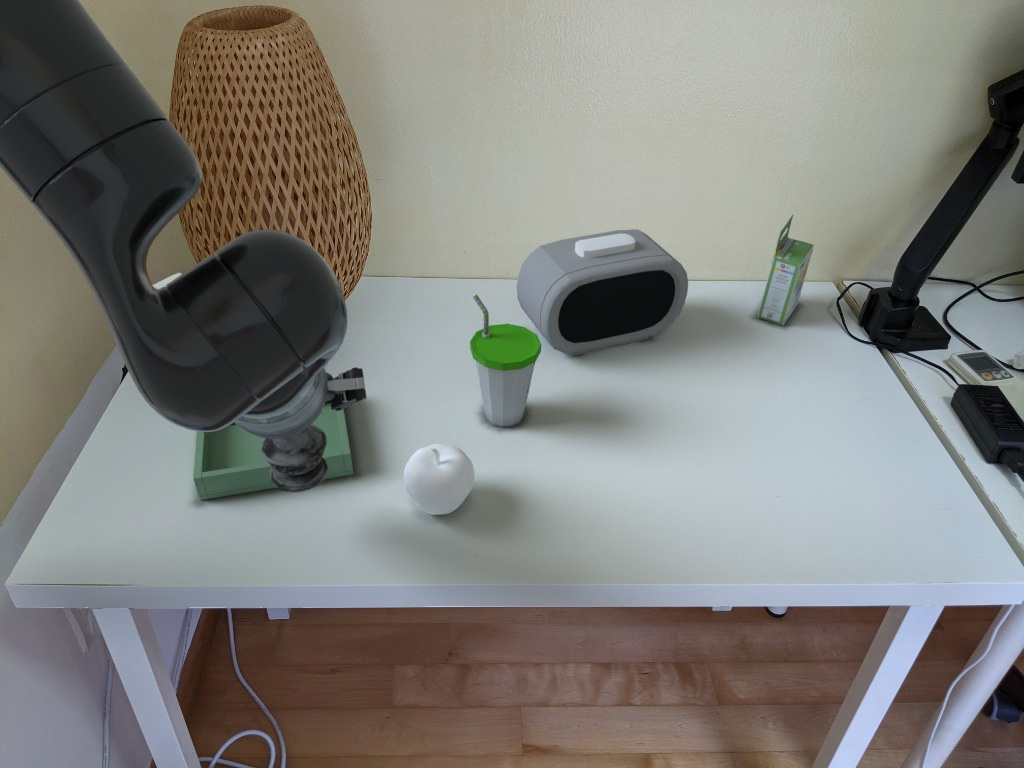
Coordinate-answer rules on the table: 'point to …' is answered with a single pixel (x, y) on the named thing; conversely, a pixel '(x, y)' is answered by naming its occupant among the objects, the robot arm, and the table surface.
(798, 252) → the ink box
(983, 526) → the table surface
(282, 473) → the chess piece
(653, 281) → the alarm clock
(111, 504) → the table surface
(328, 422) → the tray
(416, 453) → the plain white apple
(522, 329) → the cup
